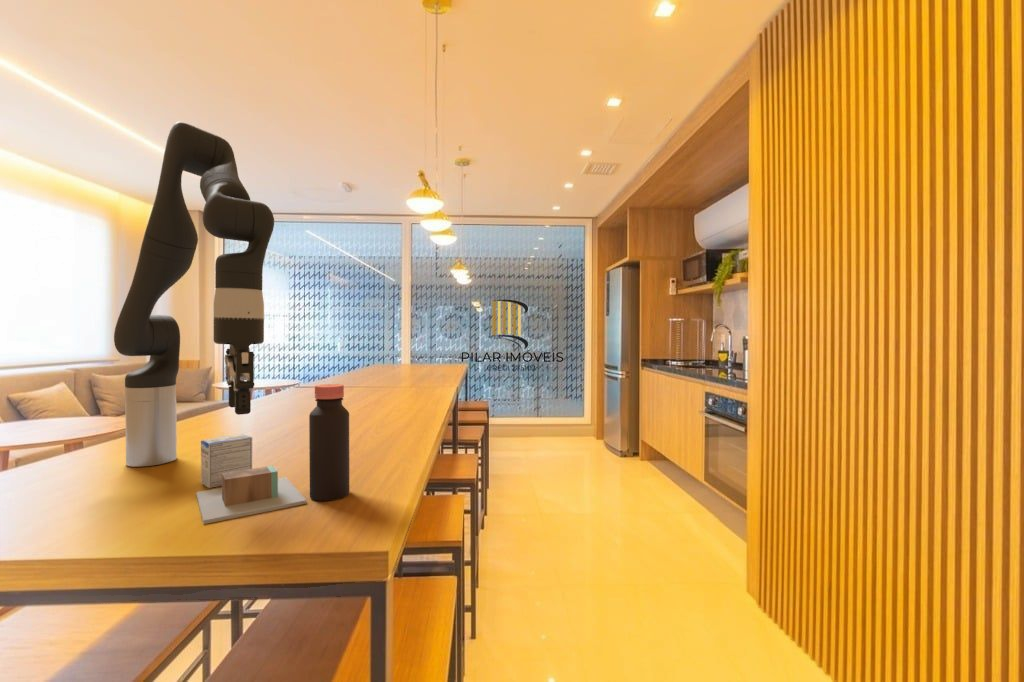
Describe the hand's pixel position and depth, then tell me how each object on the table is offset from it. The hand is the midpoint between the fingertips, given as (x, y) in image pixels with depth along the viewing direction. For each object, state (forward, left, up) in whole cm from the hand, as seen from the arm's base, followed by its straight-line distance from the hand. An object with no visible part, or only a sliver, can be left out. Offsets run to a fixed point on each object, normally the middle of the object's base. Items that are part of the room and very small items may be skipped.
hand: (239, 410), depth 83 cm
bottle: (+5, +14, -16) cm, 22 cm away
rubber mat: (-1, +2, -16) cm, 16 cm away
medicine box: (-15, 0, -16) cm, 22 cm away
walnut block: (0, -2, -13) cm, 13 cm away
